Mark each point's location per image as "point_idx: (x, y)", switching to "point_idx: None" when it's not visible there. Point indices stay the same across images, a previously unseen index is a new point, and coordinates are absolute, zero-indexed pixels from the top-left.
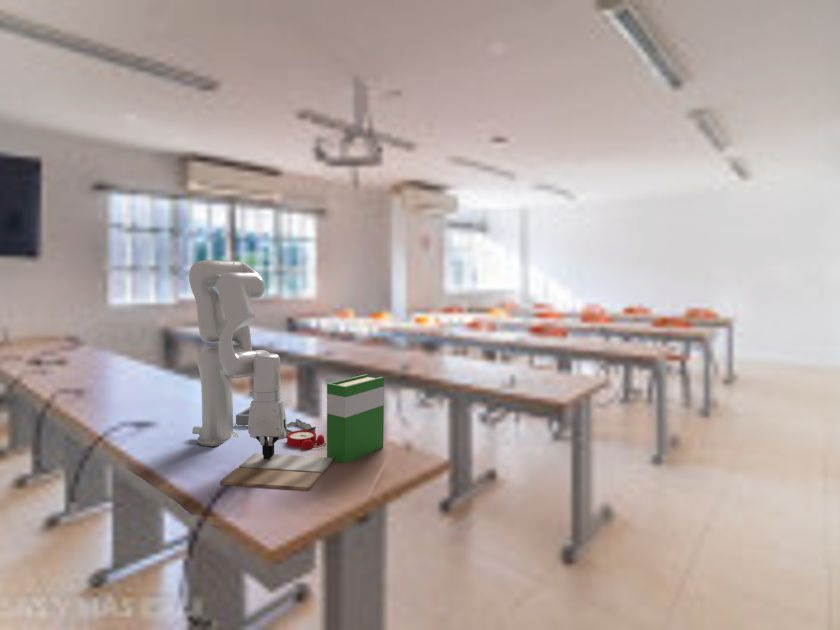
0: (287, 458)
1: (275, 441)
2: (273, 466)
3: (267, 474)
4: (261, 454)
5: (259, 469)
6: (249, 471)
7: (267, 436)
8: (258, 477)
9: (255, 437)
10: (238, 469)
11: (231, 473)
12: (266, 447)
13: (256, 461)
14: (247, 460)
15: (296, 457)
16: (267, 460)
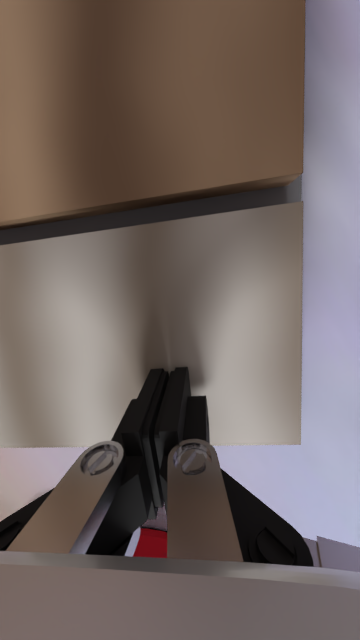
0: (57, 404)
1: (39, 500)
2: (59, 274)
3: (8, 128)
4: (245, 431)
5: (116, 198)
6: (165, 135)
7: (12, 553)
8: (29, 42)
9: (329, 560)
10: (275, 142)
11: (293, 30)
12: (148, 424)
13: (216, 322)
14: (290, 323)
15: (22, 425)
16: (152, 353)
